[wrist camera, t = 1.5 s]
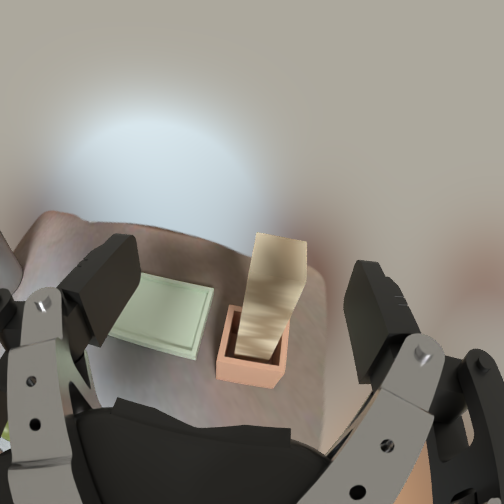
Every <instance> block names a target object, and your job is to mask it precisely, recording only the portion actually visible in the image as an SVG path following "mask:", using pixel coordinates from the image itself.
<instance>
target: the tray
mask: <svg viewBox="0 0 504 504" xmlns="http://www.w3.org/2000/svg"><path fill="white" fill-rule="evenodd" d="M213 295H214V288H210V287H205V286H200V285H195V284H191V283H186V282H181V281H177V280H172V279H168V278H163V277H159V276H155V275H150V274H146V273H142V272H141V279H140V283H139V286H138V287H137V289H136V290H135V292H134V294H133V295H132V297H131V298H130V300H129V301H128V303H127V305H126V306H125V308H124V309H123V311H122V312H121V314H120V316H119V317H118V319H117V321H116V322H115V324H114V326H113V327H112V329H111V330H110V332H109V334H108V335H109V336H112V337H115V338H118V339H121V340H124V341H128V342H131V343H134V344H137V345H140V346H144V347H147V348H151V349H154V350H158V351H161V352H165V353H169V354H172V355H176V356H180V357H184V358H188V359H192V360H196V359H197V355H198V351H199V347H200V343H201V340H202V336H203V332H204V328H205V325H206V321H207V317H208V314H209V310H210V306H211V303H212V299H213Z"/></svg>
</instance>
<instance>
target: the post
mask: <svg viewBox="0 0 504 504" xmlns="http://www.w3.org/2000/svg"><path fill="white" fill-rule="evenodd" d="M306 271H307V242H305V241H300V240H294V239H289V238H284V237H279V236H274V235H269V234H264V233H258V232H257V233H256V239H255V243H254V248H253V254H252V259H251V264H250V269H249V274H248V280H247V285H246V291H245V296H244V302H243V308H242V313H241V319H240V325H239V330H238V336H237V342H236V347H235V353H234V358H235V359H240V360H246V361H251V362H257V363H263V364H268V362H269V360H270V358H271V356H272V354H273V352H274V350H275V348H276V346H277V344H278V342H279V340H280V337H281V335H282V333H283V331H284V329H285V327H286V325H287V323H288V321H289V319H290V317H291V314H292V312H293V310H294V308H295V306H296V304H297V301H298V299H299V297H300V295H301V293H302V290H303V288H304V286H305V284H306Z"/></svg>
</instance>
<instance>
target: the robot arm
mask: <svg viewBox="0 0 504 504" xmlns="http://www.w3.org/2000/svg"><path fill="white" fill-rule="evenodd" d="M22 273H23V271H22V267H21V265H20V264H19V262H18V260H17V259H16V257H15V256H14V254H13V252H12V251H11V249H10V247H9V245H8V243H7V242H6V240H5V238H4V236H3V234H2V233H1V231H0V343H1V344H2V346H3V347H4V349H5V350H6V351H5V352H4V354H3V356H2V357H1V359H0V438H1V435H2V433H3V430H4V428H5V426H6V423H7V421H8V425H9V436H10V444H11V449H9V450H7V451H5V452H3V451H2V449H1V448H0V504H393V503H394V502H395V500H396V498H397V496H398V495H399V493H400V491H401V490H402V488H403V486H404V484H405V482H406V481H407V479H408V477H409V475H410V473H411V471H412V469H413V467H414V465H415V463H416V461H417V459H418V457H419V455H420V452H421V450H422V448H423V446H424V443H425V441H426V442H427V449H428V456H429V463H430V471H431V482H432V495H433V504H504V382H503V379H502V376H501V374H500V372H499V370H498V367H497V365H496V363H495V361H494V359H493V358H492V357H491V356H490V355H489V354H488V353H487V352H485V351H483V350H481V349H472V350H470V351H469V352H468V353H467V355H466V356H465V357H464V359H463V360H461V359H457V358H453V357H449V356H445V354H444V351H443V349H442V347H441V346H440V344H439V343H438V342H437V341H436V340H434V339H433V338H431V337H430V336H427V335H424V334H421V332H420V330H419V327H418V325H417V323H416V321H415V319H414V316H413V314H412V312H411V310H410V308H409V307H408V306H407V302H406V300H405V298H403V297H404V296H403V294H402V292H401V290H400V288H399V286H398V285H397V284H396V283H395V282H393V280H392V279H391V278H390V277H385V275H384V273H383V271H382V269H381V267H380V265H379V263H378V262H372V261H364V260H357V261H356V263H355V265H354V269H353V272H352V275H351V278H350V281H349V284H348V288H347V290H346V294H345V297H344V314H345V318H346V323H347V327H348V331H349V336H350V341H351V345H352V350H353V355H354V360H355V365H356V370H357V376H358V381H359V384H371V386H372V391H371V393H370V394H369V395H368V397H367V399H366V400H365V402H364V403H363V405H362V406H361V408H360V409H359V411H358V412H357V414H356V415H355V417H354V418H353V420H352V421H351V423H350V424H349V425H348V427H347V428H346V429H345V431H344V433H343V434H342V435H341V436H340V437H339V439H338V440H337V441H336V442H335V444H334V445H333V446H332V447H331V448H330V449H329V451H328V452H327V453H326V454H325V455H324V454H322V453H321V452H319V451H318V450H316V449H315V448H313V447H311V446H309V445H307V444H304V443H301V442H299V441H296V440H292V439H291V428H275V427H262V426H251V425H240V426H229V427H215V428H196V427H193V426H190V425H188V424H186V423H184V422H182V421H180V420H177V419H175V418H173V417H171V416H169V415H167V414H165V413H163V412H161V411H159V410H158V409H156V408H152V407H148V406H145V405H141V404H138V403H134V402H131V401H128V400H124V399H121V398H118V397H117V400H116V402H115V404H114V407H105V408H102V407H101V405H100V403H99V400H98V398H97V395H96V391H95V387H94V383H93V378H92V374H91V369H90V364H89V359H88V354H87V352H86V350H85V348H86V347H87V345H88V344H91V345H94V346H97V347H101V346H102V344H103V342H104V341H105V339H106V337H107V336H108V334H109V332H110V330H111V329H112V327H113V326H114V324H115V322H116V321H117V319H118V317H119V316H120V314H121V312H122V311H123V309H124V308H125V306H126V305H127V303H128V301H129V300H130V298H131V297H132V295H133V294H134V292H135V290H136V289H137V287H138V286H139V283H140V279H141V268H140V262H139V256H138V250H137V243H136V239H135V237H134V236H133V235H127V234H117V233H116V234H113V235H112V236H111V237H110V238H109V239H108V240H107V241H106V242H105V243H104V244H103V245H101V246H99V247H97V248H96V249H94V250H92V251H91V252H90V253H89V254H88V255H87V256H86V257H85V258H84V260H82V261H81V262H80V263H79V264H78V265H77V267H75V268H74V269H73V270H72V271H71V272H70V273H69V274H68V275H67V277H66V278H65V279H64V280H63V281H62V282H61V283H60V284H59V285H58V286H57V287H56V288H54V287H45V288H41V289H39V290H37V291H35V292H34V293H32V294H31V295H30V296H29V297H28V298H27V300H26V301H14V299H13V297H12V294H13V293H14V292H15V290H16V289H17V288H18V286H19V284H20V282H21V279H22ZM467 409H468V410H469V414H470V418H471V421H472V425H473V429H474V439H473V442H472V444H471V445H470V446H469V445H468V441H467V436H466V432H465V428H464V423H463V420H462V416H461V415H462V414H463V413H464V412H465V411H466V410H467Z"/></svg>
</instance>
